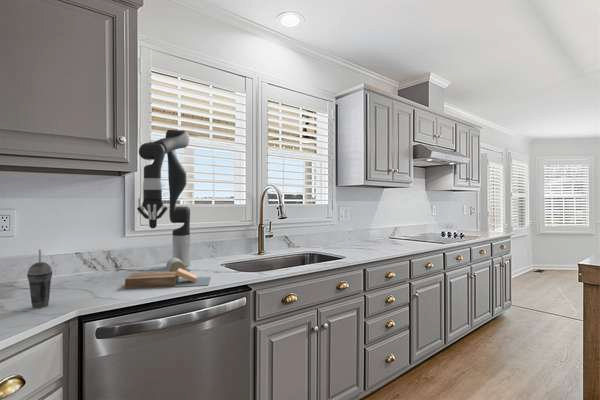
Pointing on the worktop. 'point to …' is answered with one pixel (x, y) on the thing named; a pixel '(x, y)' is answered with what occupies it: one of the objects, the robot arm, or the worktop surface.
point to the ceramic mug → (175, 265)
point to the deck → (151, 280)
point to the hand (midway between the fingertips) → (152, 228)
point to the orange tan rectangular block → (186, 275)
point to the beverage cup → (39, 283)
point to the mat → (199, 282)
